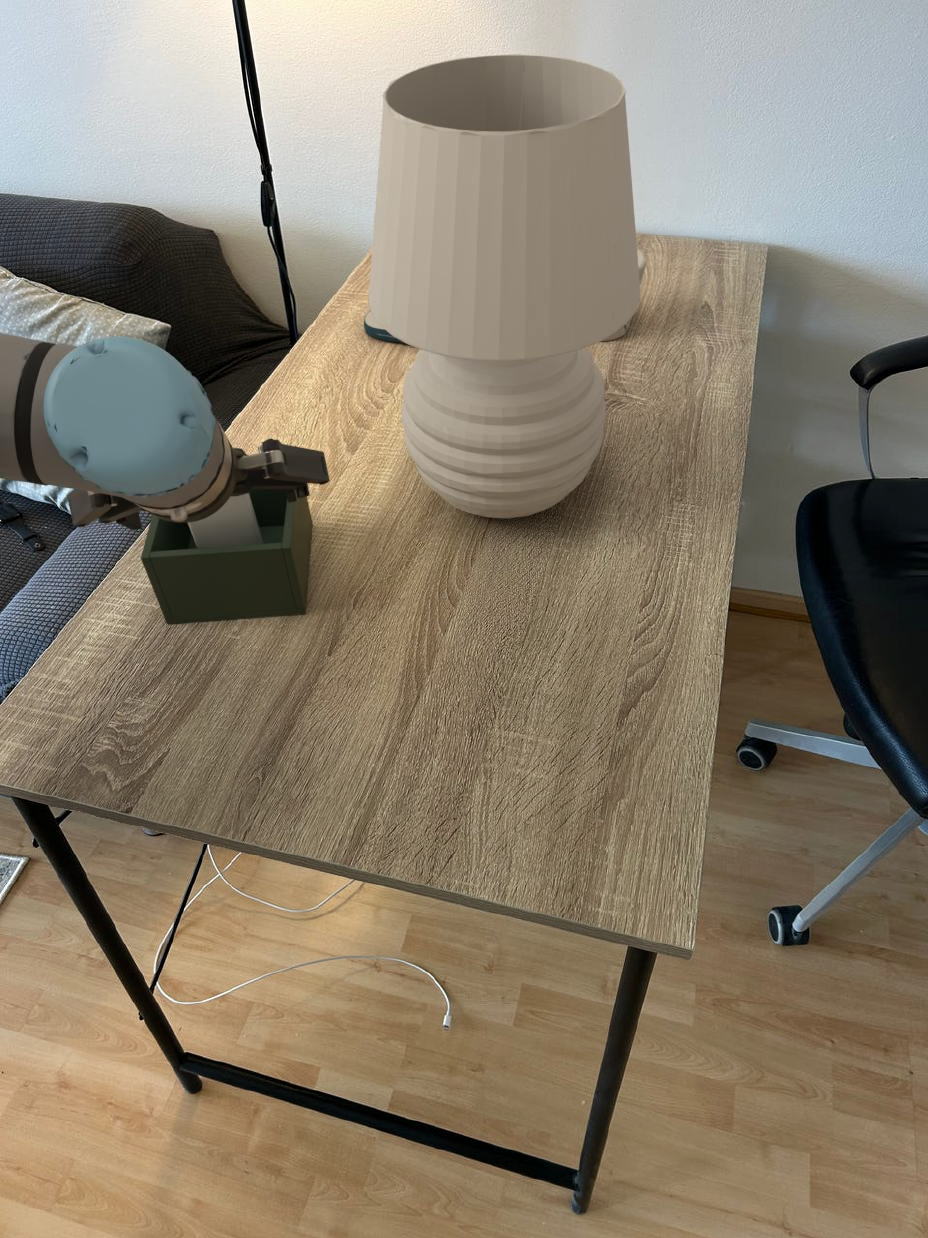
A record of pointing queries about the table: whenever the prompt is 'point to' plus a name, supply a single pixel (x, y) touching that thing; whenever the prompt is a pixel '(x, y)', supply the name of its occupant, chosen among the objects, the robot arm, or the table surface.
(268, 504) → the dark green open box
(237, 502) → the cosmetic box
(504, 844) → the table surface
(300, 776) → the table surface
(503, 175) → the table lamp
